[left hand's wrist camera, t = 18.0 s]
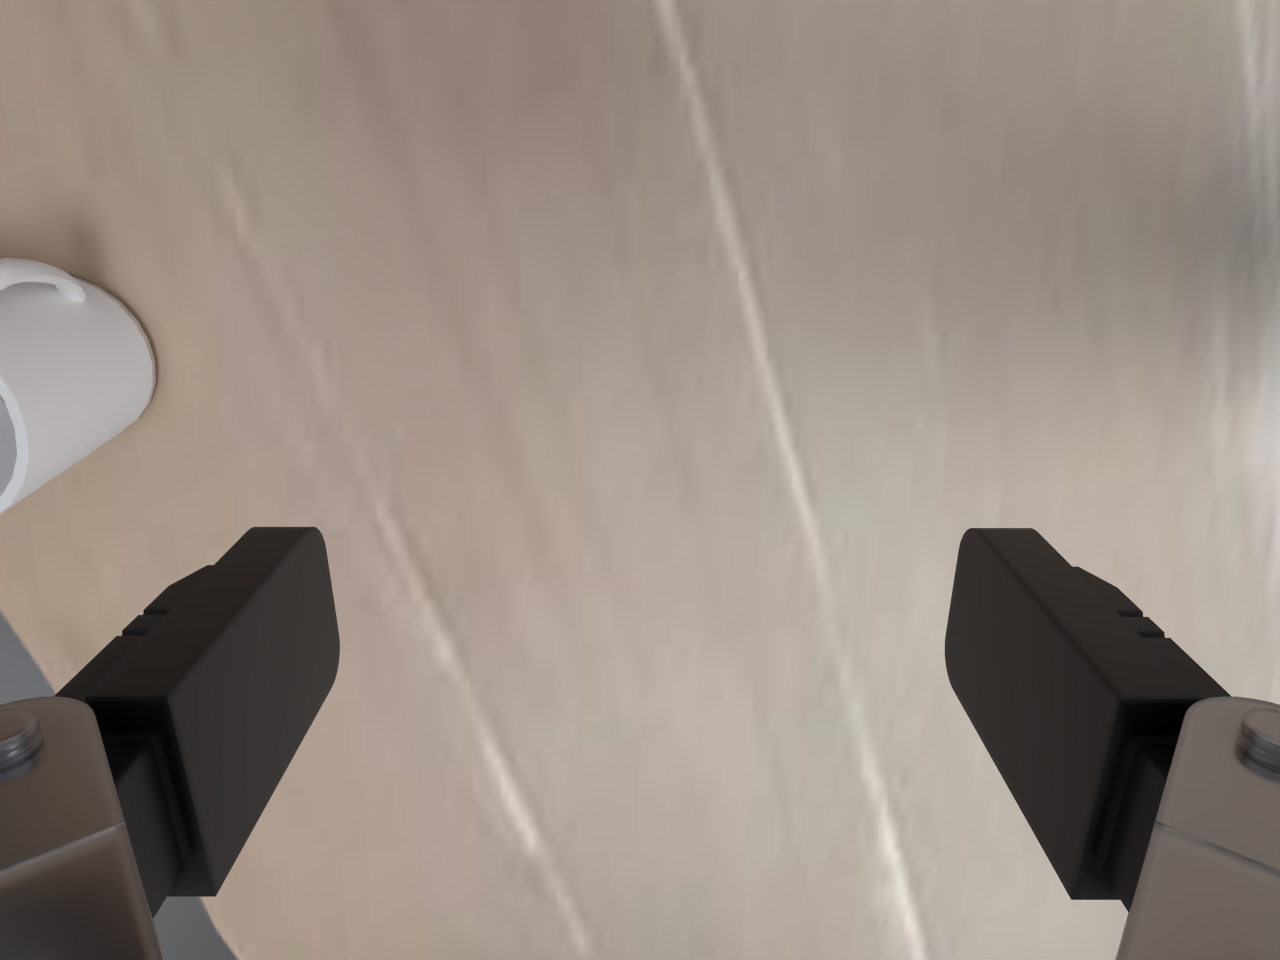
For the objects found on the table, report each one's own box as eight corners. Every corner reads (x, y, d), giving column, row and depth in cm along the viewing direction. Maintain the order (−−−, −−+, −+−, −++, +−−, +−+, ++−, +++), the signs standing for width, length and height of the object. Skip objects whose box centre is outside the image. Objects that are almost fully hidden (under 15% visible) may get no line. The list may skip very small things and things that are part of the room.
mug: (129, 476, 44) (-13, 571, 34) (-47, 383, 42) (-248, 457, 33) (213, 292, 40) (81, 341, 31) (25, 183, 39) (-177, 199, 29)
